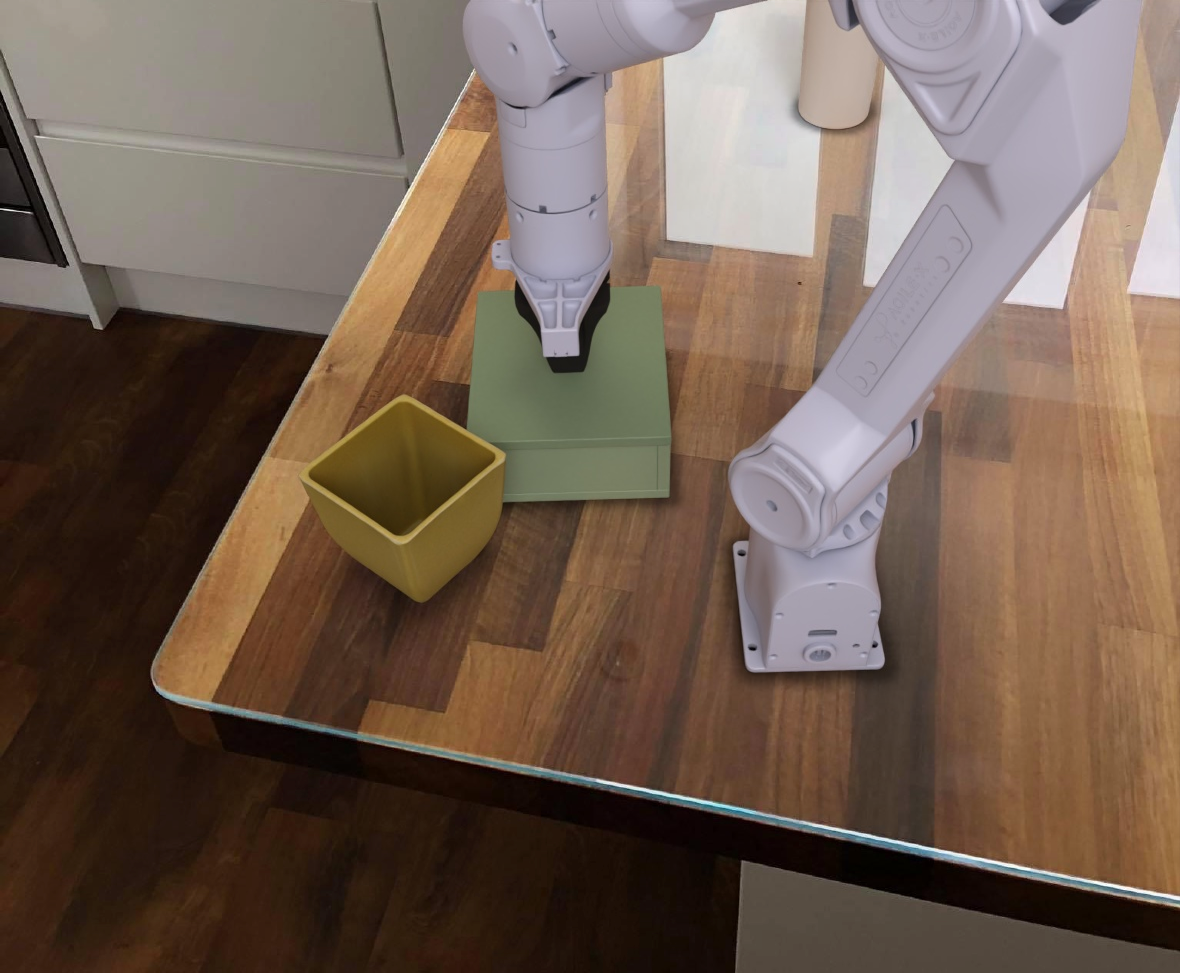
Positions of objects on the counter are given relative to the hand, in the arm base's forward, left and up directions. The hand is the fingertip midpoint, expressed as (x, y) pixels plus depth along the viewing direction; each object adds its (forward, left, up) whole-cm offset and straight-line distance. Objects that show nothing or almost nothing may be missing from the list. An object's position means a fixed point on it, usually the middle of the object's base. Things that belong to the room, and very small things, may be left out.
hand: (568, 365), depth 78 cm
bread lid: (+1, 0, -2) cm, 2 cm away
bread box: (+2, 0, -7) cm, 8 cm away
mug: (+42, -24, -8) cm, 49 cm away
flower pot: (-10, +10, -8) cm, 15 cm away
